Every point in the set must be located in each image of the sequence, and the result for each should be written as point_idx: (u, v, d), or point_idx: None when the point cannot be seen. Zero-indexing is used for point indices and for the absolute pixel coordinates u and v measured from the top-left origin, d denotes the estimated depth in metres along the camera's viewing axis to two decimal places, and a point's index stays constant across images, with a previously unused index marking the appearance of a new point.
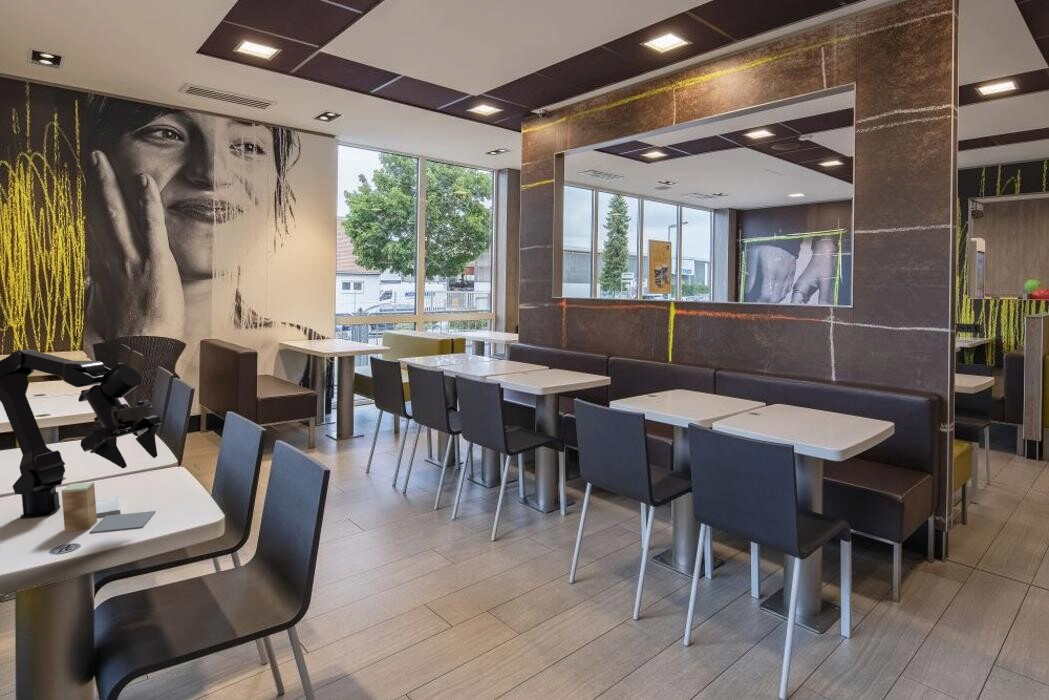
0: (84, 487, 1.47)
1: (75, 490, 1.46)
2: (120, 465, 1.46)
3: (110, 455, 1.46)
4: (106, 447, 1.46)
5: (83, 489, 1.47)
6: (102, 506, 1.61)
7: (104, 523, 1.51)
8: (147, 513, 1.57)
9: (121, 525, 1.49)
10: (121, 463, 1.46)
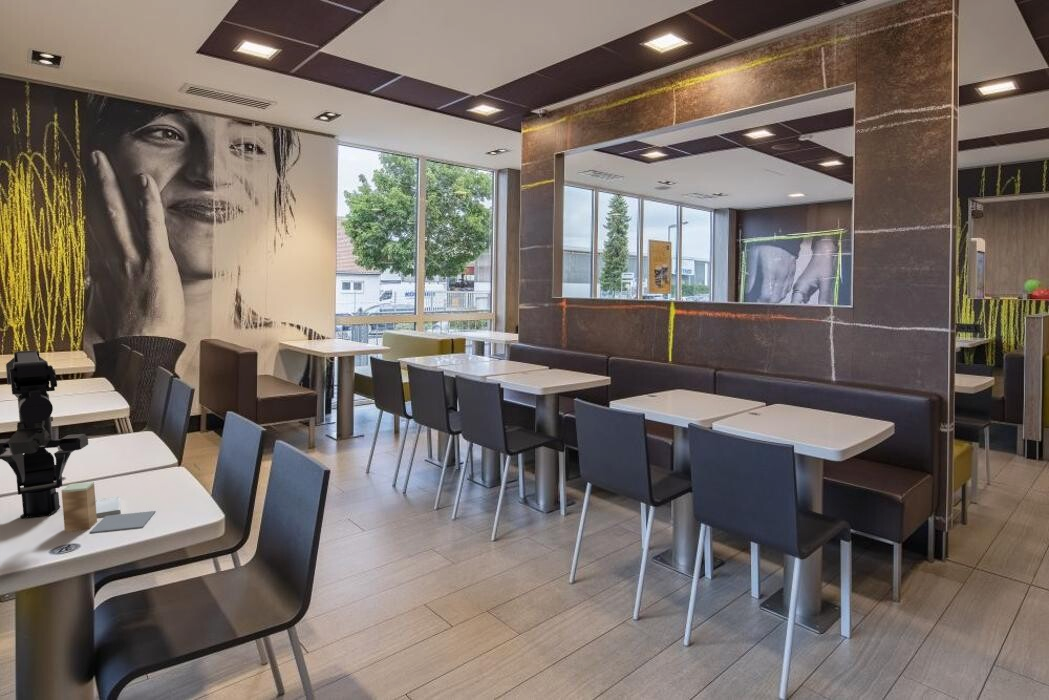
0: (84, 487, 1.47)
1: (75, 490, 1.46)
2: None
3: None
4: None
5: (83, 489, 1.47)
6: (103, 506, 1.61)
7: (104, 523, 1.51)
8: (147, 513, 1.57)
9: (121, 525, 1.49)
10: None
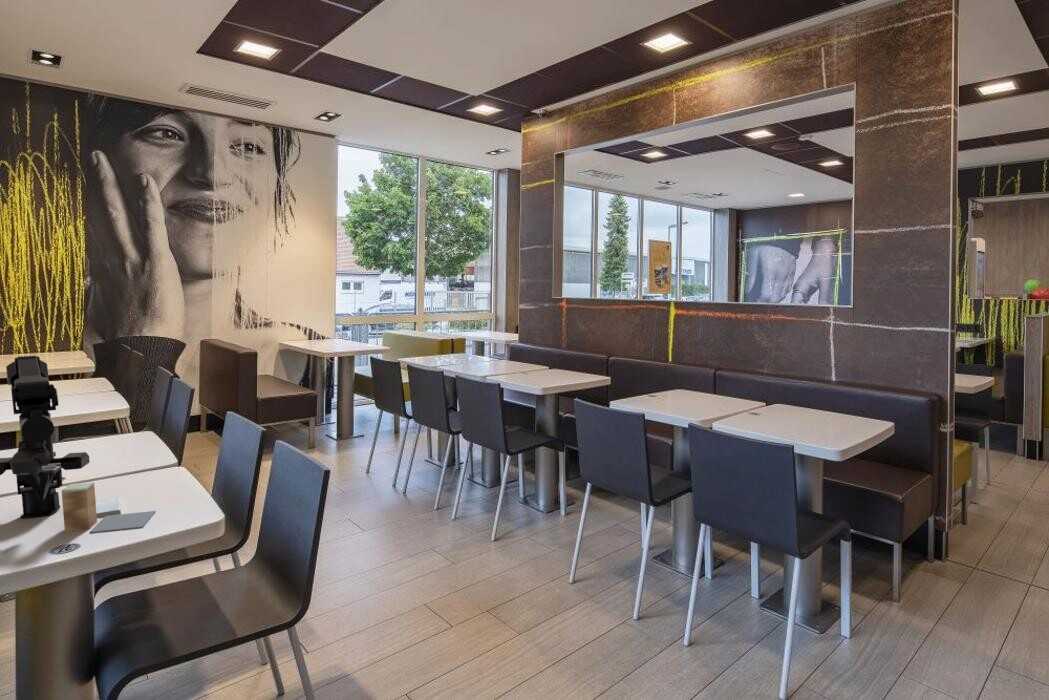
0: (84, 487, 1.47)
1: (75, 490, 1.46)
2: None
3: None
4: None
5: (83, 489, 1.47)
6: (103, 506, 1.61)
7: (104, 523, 1.51)
8: (147, 513, 1.57)
9: (121, 525, 1.49)
10: None
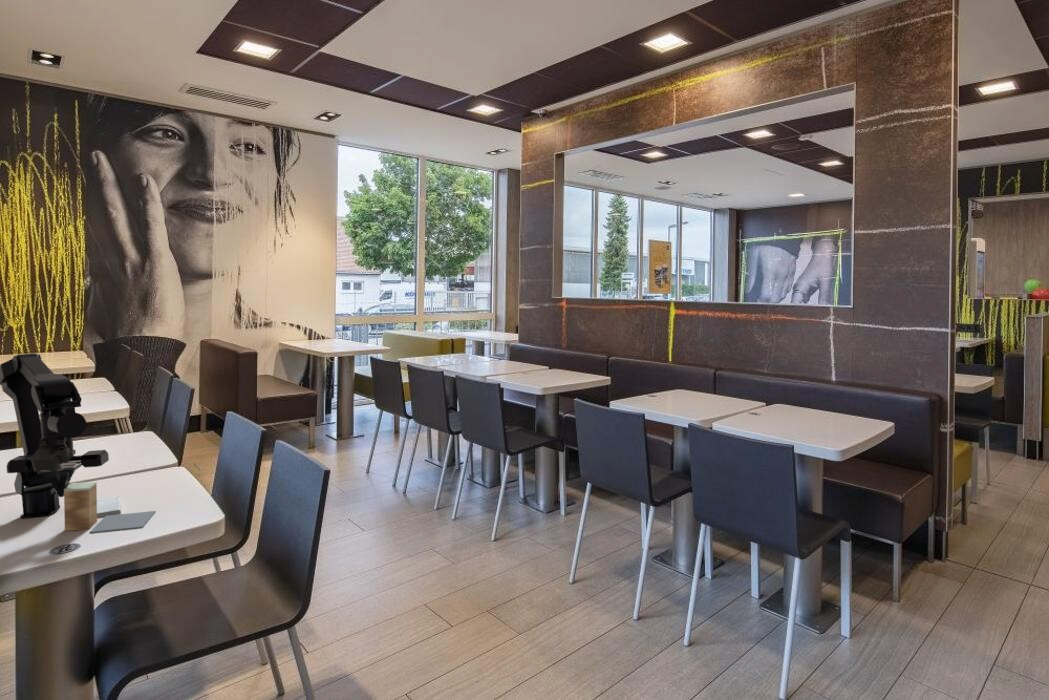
0: (87, 487, 1.48)
1: (78, 489, 1.46)
2: None
3: None
4: None
5: (86, 489, 1.47)
6: (103, 506, 1.61)
7: (104, 523, 1.51)
8: (147, 513, 1.57)
9: (121, 525, 1.49)
10: None
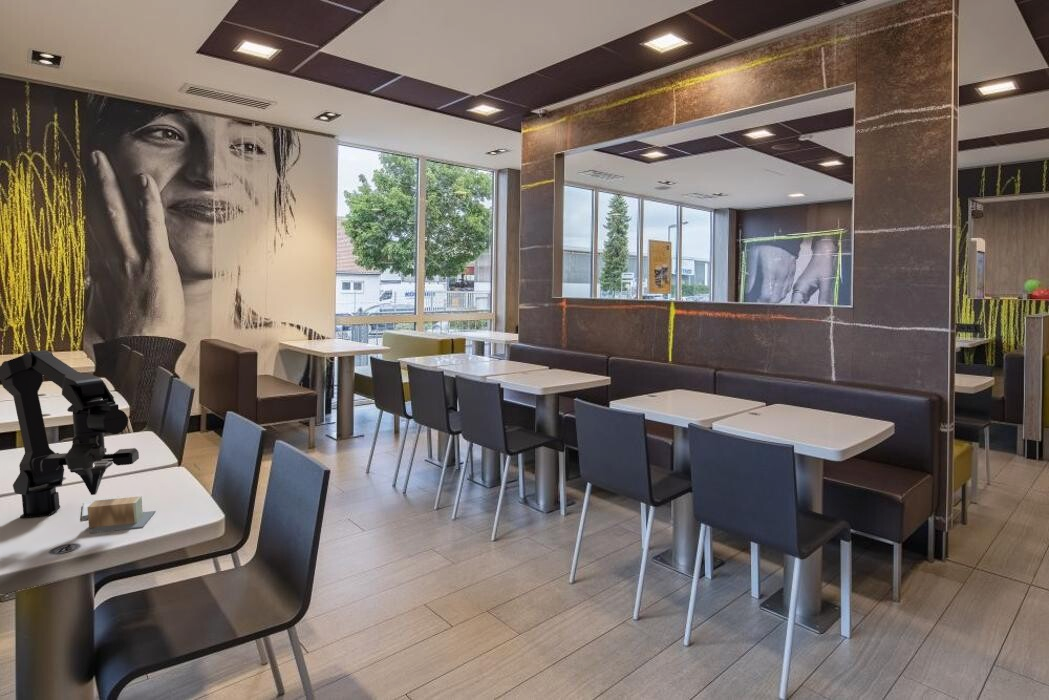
0: (137, 519, 1.51)
1: (134, 514, 1.50)
2: None
3: None
4: None
5: (135, 520, 1.51)
6: None
7: None
8: (147, 513, 1.57)
9: (121, 525, 1.49)
10: None
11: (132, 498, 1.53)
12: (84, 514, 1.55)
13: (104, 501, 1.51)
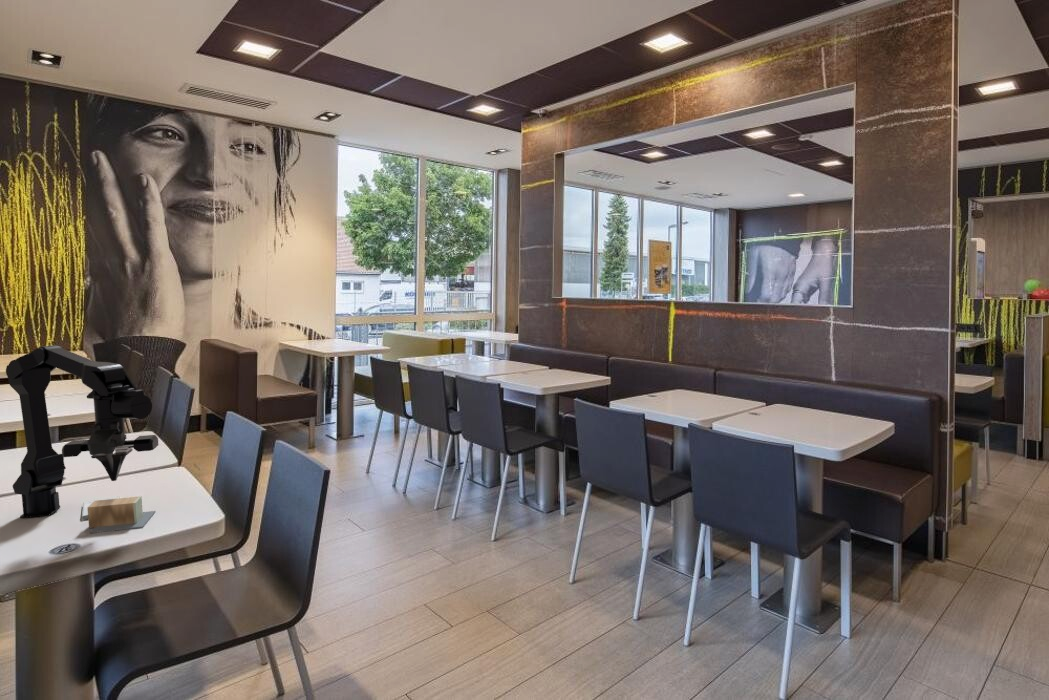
0: (137, 519, 1.51)
1: (134, 514, 1.50)
2: None
3: None
4: None
5: (135, 520, 1.51)
6: None
7: None
8: (147, 513, 1.57)
9: (121, 525, 1.49)
10: None
11: (132, 498, 1.53)
12: (84, 514, 1.55)
13: (104, 501, 1.51)
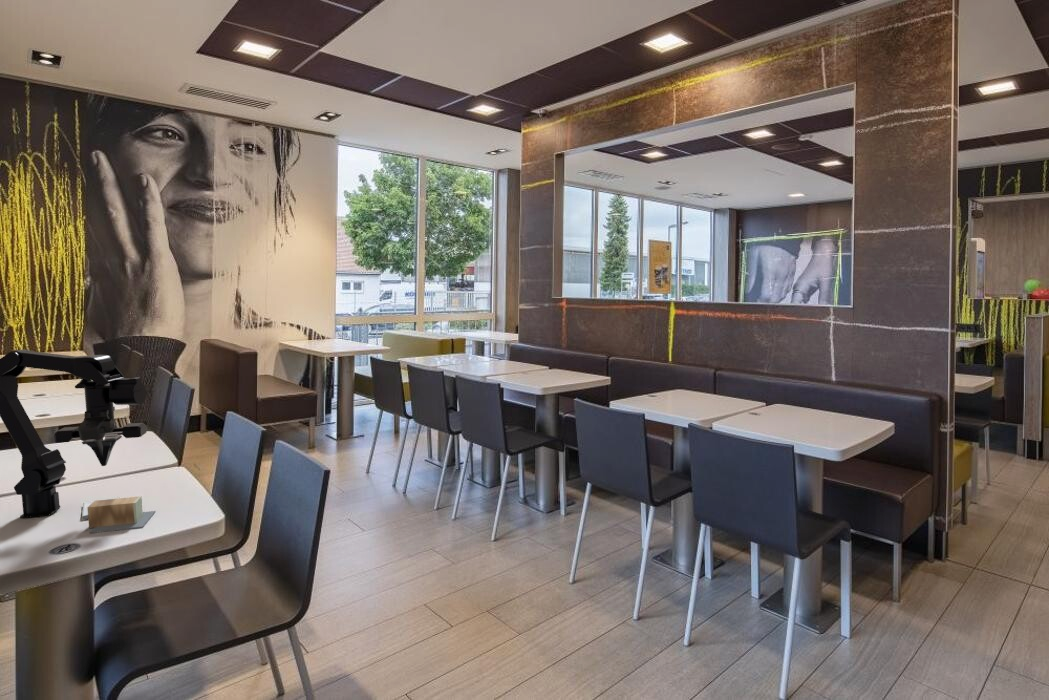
0: (137, 519, 1.51)
1: (134, 514, 1.50)
2: None
3: None
4: None
5: (135, 520, 1.51)
6: None
7: None
8: (147, 513, 1.57)
9: (121, 525, 1.49)
10: None
11: (132, 498, 1.53)
12: (84, 514, 1.55)
13: (104, 501, 1.51)
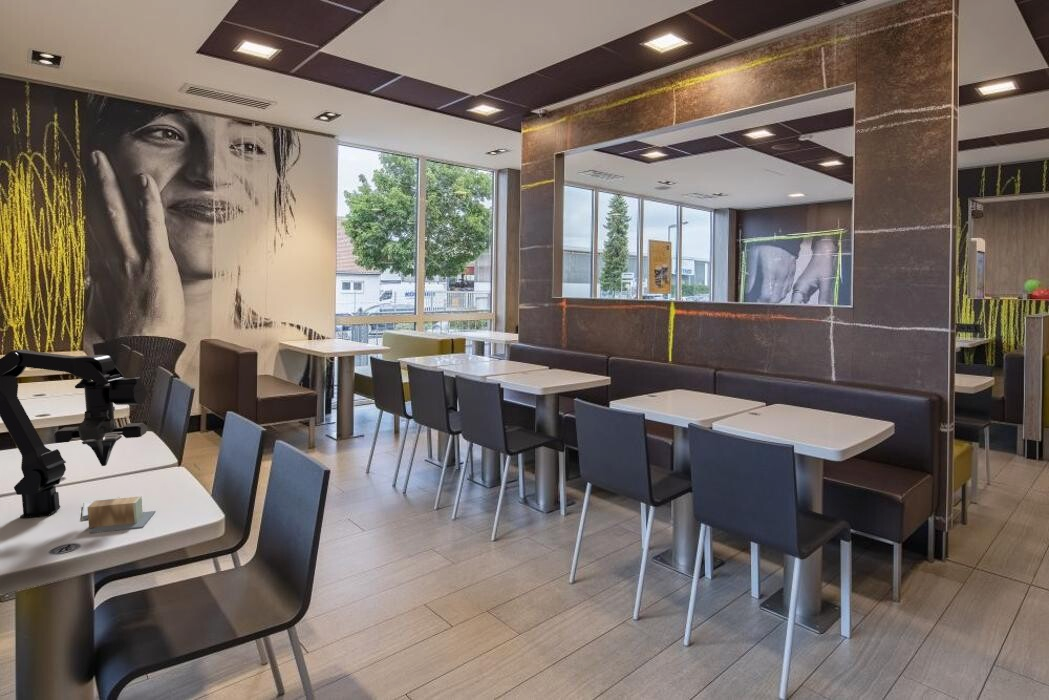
0: (137, 519, 1.51)
1: (134, 514, 1.50)
2: None
3: None
4: None
5: (135, 520, 1.51)
6: None
7: None
8: (147, 513, 1.57)
9: (121, 525, 1.49)
10: None
11: (132, 498, 1.53)
12: (84, 514, 1.55)
13: (104, 501, 1.51)
